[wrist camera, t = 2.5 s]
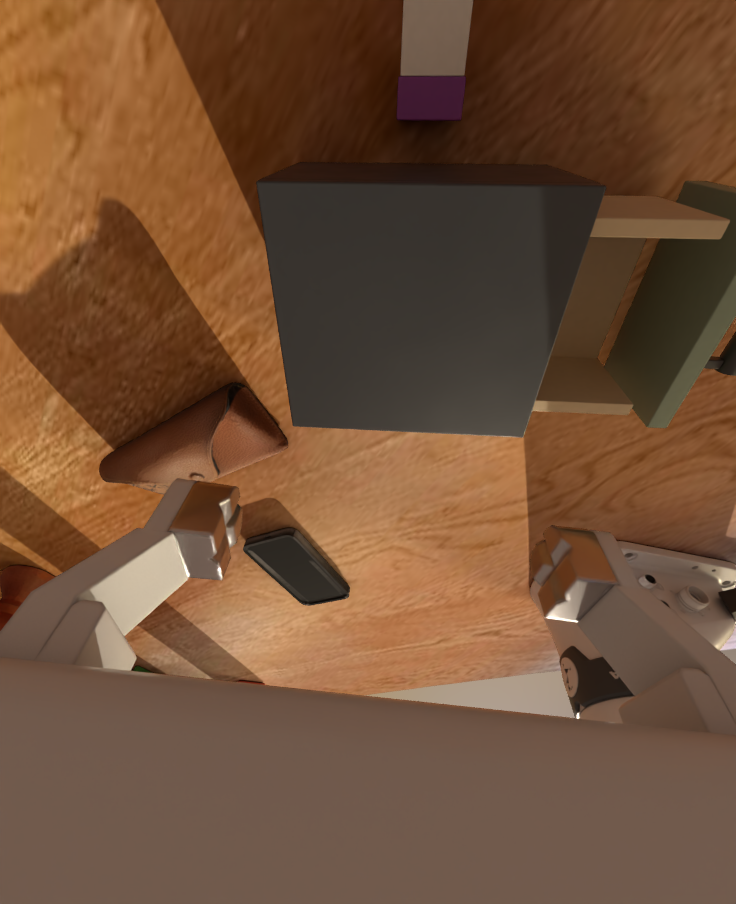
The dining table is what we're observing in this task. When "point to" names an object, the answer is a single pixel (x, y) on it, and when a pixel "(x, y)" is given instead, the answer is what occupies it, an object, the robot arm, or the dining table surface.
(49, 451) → the dining table surface
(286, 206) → the black storage box
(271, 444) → the sunglasses case
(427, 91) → the beige rectangular block
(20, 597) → the goblet
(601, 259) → the drawer
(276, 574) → the phone
